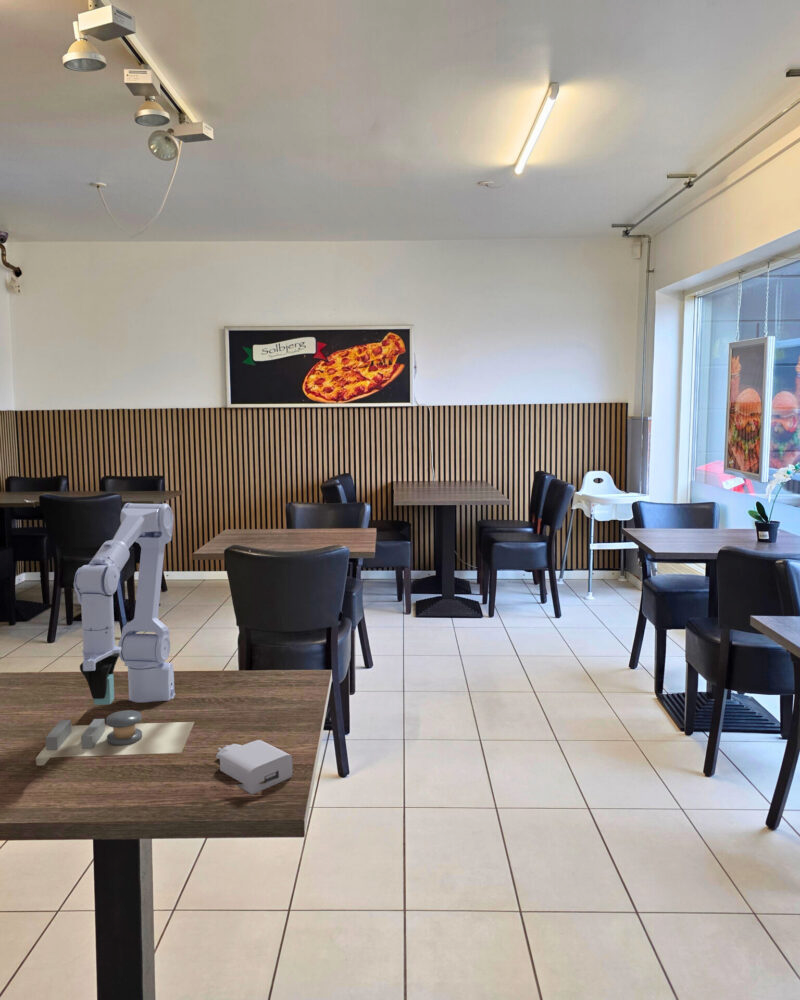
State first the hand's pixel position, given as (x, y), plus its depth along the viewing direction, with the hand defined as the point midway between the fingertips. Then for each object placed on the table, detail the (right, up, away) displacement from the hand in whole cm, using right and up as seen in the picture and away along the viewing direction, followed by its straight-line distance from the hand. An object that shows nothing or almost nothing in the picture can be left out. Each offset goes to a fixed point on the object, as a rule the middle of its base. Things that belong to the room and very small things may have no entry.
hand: (101, 694), depth 151 cm
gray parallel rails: (-4, -8, -2) cm, 9 cm away
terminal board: (+4, -10, -1) cm, 10 cm away
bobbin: (+5, -8, -1) cm, 10 cm away
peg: (+1, -1, 0) cm, 1 cm away
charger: (+30, -12, -11) cm, 34 cm away
